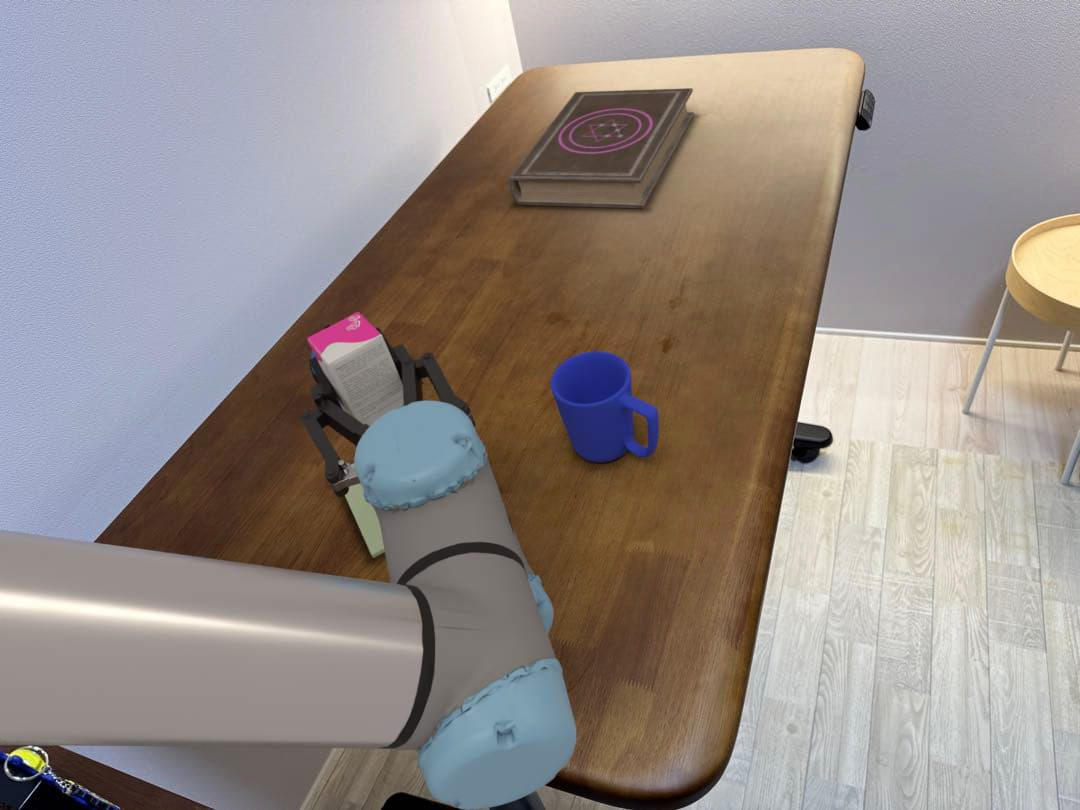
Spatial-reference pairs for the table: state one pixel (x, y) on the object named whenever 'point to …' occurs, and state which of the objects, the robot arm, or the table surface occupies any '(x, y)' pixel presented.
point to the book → (604, 149)
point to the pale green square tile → (366, 519)
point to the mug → (601, 407)
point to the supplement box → (359, 368)
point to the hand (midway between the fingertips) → (348, 353)
